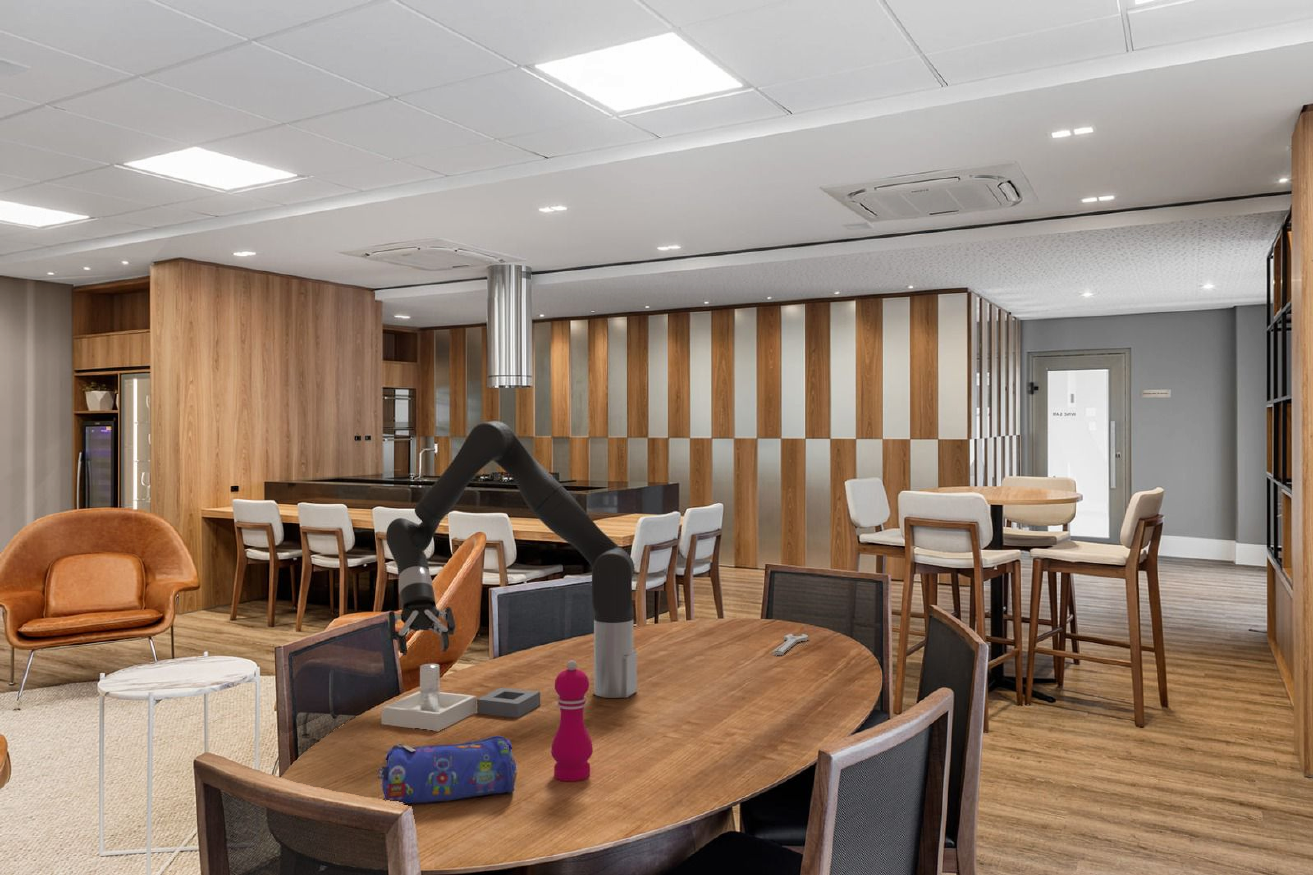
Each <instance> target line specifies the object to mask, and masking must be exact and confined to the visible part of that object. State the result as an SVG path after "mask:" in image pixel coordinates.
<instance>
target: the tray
mask: <svg viewBox="0 0 1313 875" xmlns="http://www.w3.org/2000/svg"><path fill="white" fill-rule="evenodd" d="M476 713H477V695H472V694H462V693H454V692H453V693H452V692H451V693H450V692H443V691H439V712H430V711H422V710H420V690H419V691H416V692H414V693H411V694H409V695H407V696H405V697H402V698H400V699H397V700H396V701H395V700H394V701H393V702H390V703H388V704H386V705H384V706H381V725H386V726H393V727H400V728H401V727H402V728H409V729H415V728H420V729H419V730H422V729H427V730H426V731H430V730H433V731H432V732H438V733H439V732H440V730H441V731H442V729H443V730H444V728H445V729H447V728H449V727H450V726H452V725H454V724H457V723H458V722H460V721H462V720H464V719H466V718H469V717H470V716H472V715H474V714H476Z"/></svg>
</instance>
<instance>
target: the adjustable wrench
mask: <svg viewBox="0 0 1313 875" xmlns="http://www.w3.org/2000/svg"><path fill="white" fill-rule="evenodd" d="M784 640H786V641H784ZM807 640H809V636H808V635H807V634H804V633H802V634H801V635H799V636H797V635H793V633H789V634H787V635H783V641H784V642H783V643H782V644H781V645H779V646H778V647H777V648H776V649H774V650H773V651H772V656H774V655H782V656H784V655H785V654H786V653H787V652H788V651H789V650H790V649H792V648H793V647H794V646H796V643H797V642H801V641H805V642H808V641H807ZM801 643H802V642H801ZM797 644H798V643H797ZM792 646H793V647H792ZM791 647H792V648H791ZM787 650H788V651H787ZM786 651H787V652H786ZM785 652H786V653H785ZM784 653H785V654H784ZM783 654H784V655H783Z"/></svg>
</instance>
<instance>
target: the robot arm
mask: <svg viewBox="0 0 1313 875" xmlns="http://www.w3.org/2000/svg"><path fill="white" fill-rule="evenodd" d="M492 461H493V462H495V463H496V464H497V465H498V466H500V468H502V469H503V470H504V471H505V472H506V474H508V476H510V477H511V479H512V480H513V482H514V484H515V485H516V487H517V489H518V491H519V492H520V495H521V496H522V498H523V500H524V502H525V503H526V505H527V506H528V508H529V510H531V512H532V513H533V514H534V515H535V516H536V517H537V518H538V519H539V520H540V522H542V524H544V525H545V527H546V528H548V529H549V530H550V531H551V532H552V533H553V534H555V535H556V536H558V537H559V538H560V539H562V540H564V541H565V542H567V543H568V544H569V545H571V546H572V547H574V548H575V549H576V550H577V551H578V552H579V553H580V554H581V555H582V557H584V559H585V560H586V561H587V562H588V563H589V565H590V566H591V569H592V570H591V597H592V598H591V599H592V603H591V604H592V610H593V693H594V696H597V697H600V698H605V699H606V698H608V699H617V698H619V699H620V698H624V699H626V698H629V697H630V696H632V695H634V694H635V693H636V692H637V691H638V688H637V686H638V675H637V674H638V671H637V670H638V668H637V667H638V666H637V665H638V663H637V662H638V659H637V657H638V656H637V655H638V653H637V650H634V606H633V586H632V585H633V577H634V574H635V564H634V561H633V560H634V559H633V558H632V557H631V555H630V554H629V553H628V552H626V550H625V549H623V548H622V547H621V546H620V545H618V543H616V542H615V541H613V540H612V539H611V538H610V537H609V536H608V535H607V534H606V533H605V532H603V531H602V530H601V529H600V528H599V526H598V525H597V524H596V523H595V522H594V520H593V519H592V517H590V515H589V514H588V513H587V512H586V511H585V510H584V508H583V507H582V506H581V505H580V504H579V502H577V500H576V499H575V498H574V497H573V496H572V495H571V494H570V492H569V491H568V490H567V489H566V488H565V487H564V486H563V485H562V484H561V483H560V482H559V481H558V480H557V479H556V478H555V477H554V476H553V475H552V474H551V473H550V472H549V471H548V470H547V469H546V468H545V467H543V466H544V465H542V464H541V463H540V462H538V461H537V460H536V459H535V458H534V457H533V455H532V454H531V453H530V452H529V450H527V447H525V445H524V444H523V443H522V442H521V440H520V438H518V436H517V435H516V434H515V432H514V431H513V430H512V429H511V427H509V426H508V425H507V424H505V423H504V422H502V421H497V420H490V421H484V422H481V423H480V422H479V423H478V424H477V425H475V426H474V427H473V428H472V429H471V431H470V433H469V434H468V436H467V437H466V439H465V440H464V443H463V444H462V445H461V448H460V449H459V451H458V452H457V454H456V456H454V459H453V460H452V461H451V463H450V464H449V466H448V467H447V468H446V469H445V471H443V473H442V474H441V476H440V477H439V478H438V479H437V480H436V481H435V483H434V484H433V485H432V486H431V487H430V488H429V489H428V490H427V491H426V493H425V494H424V495H423V496H422V497H421V498H420V500H419V501H418V502H417V503H416V505H415V507H414V514H415V515H416V517H417V518H418V519H419V520H420V521H421V522H420V523H419V524H418V523H416V522H413V521H411V520H408V519H407V518H402V517H400V518H399V517H398V518H395V519H393V520H392V521H391V522H390V523H389V525H388V526H387V529H386V532H385V538H386V539H385V540H386V544H387V547H388V549H389V551H390V554H391V555H392V558H393V560H394V562H395V563H396V567H397V568H396V569H397V575H398V594H399V600H400V606H401V608H400V609H401V613H400V612H399V613H398V612H397V613H395V611H393V610H391V611H389V613H388V616H387V617H388V618H387V627H388V631H387V632H388V639H389V640H390V641H393V640H396V641H397V644H398V651H399V653H400V654H402V656H407V654H408V645H407V644H408V643H407V639H406V637H407V636H408V635H409V634H410V632H411V631H414V632H419V631H429V630H431V631H432V632H433V633H435V634H437V635H439V636H440V645H441V650H442V652H443V653H446V652H447V650H448V649H449V647H450V637H449V636H453V635H454V634H455V630H456V622H455V619H454V615H453V610H452V607H450V606H447V607H445V609H441V610H440V609H438V607H437V605H436V604H437V603H436V597H435V591H434V590H435V589H434V586H433V579H432V577H431V573H430V568H429V562H428V557H427V555H426V553H425V552H424V551H426V550H427V549H428V547H429V546H430V544H431V542H432V541H433V537H434V536H435V533H436V532H437V530H438V528H439V525H440V523H441V522H442V520H444V518H445V517H446V516H447V514H449V513H450V511H451V510H452V508H454V507H455V505H456V504H457V503H458V501H459V499H460V498H461V496H462V495H463V493H464V491H465V489H467V486H468V484H469V483H470V482H471V481H472V480H473V478H474V477H475V476H476V475H477V474H478V473H479V472H480V471H481V470H482V469H483V468H485V467H486V466H487V465H488V464H489V463H491V462H492ZM439 617H441V618H442V620H443V621H445V623H446V625H444V623H443V622H442V621H441V620H440V619H439ZM399 620H400V621H401V622H402V623H404V624H403V626H402V627H401V628H400V630H399V631H397V630H396V624H398V622H399Z"/></svg>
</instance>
